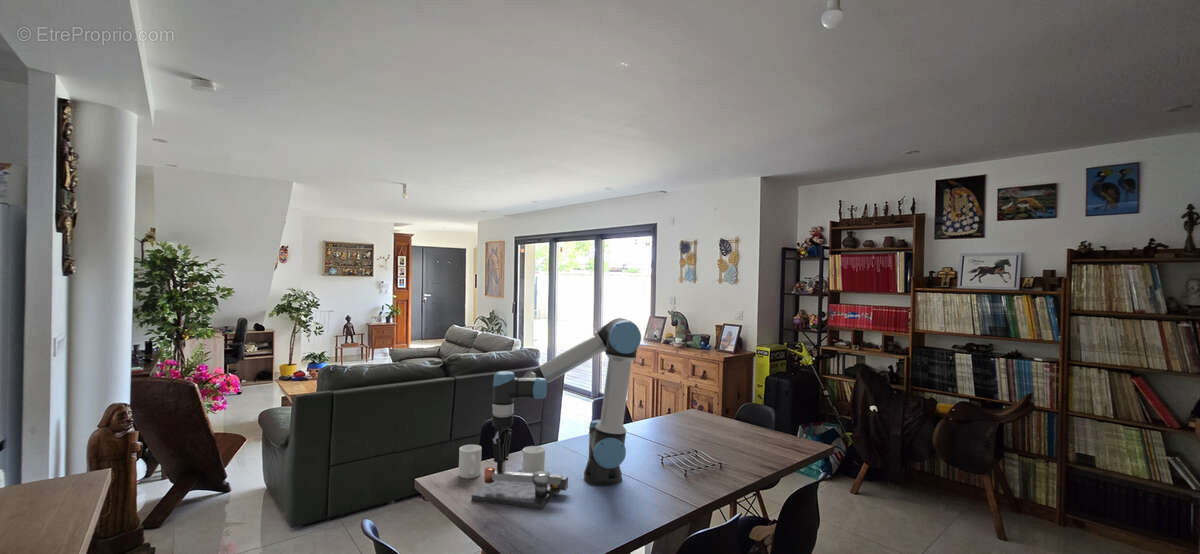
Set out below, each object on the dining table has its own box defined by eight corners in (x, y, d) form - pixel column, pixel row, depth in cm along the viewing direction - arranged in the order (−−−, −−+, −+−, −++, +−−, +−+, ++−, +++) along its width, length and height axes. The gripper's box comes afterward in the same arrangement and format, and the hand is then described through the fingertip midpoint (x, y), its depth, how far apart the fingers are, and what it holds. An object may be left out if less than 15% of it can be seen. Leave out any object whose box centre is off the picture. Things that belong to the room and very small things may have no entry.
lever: (561, 481, 178) (562, 469, 178) (559, 488, 172) (559, 476, 172) (487, 477, 180) (487, 465, 180) (481, 484, 174) (482, 471, 174)
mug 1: (462, 483, 188) (463, 455, 188) (456, 472, 198) (457, 446, 199) (485, 480, 192) (486, 452, 192) (477, 469, 202) (478, 443, 203)
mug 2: (548, 473, 200) (549, 450, 200) (529, 478, 194) (530, 454, 195) (532, 464, 209) (533, 442, 210) (514, 469, 204) (514, 446, 204)
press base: (567, 492, 182) (567, 476, 182) (553, 511, 166) (554, 493, 166) (491, 483, 189) (492, 467, 189) (471, 500, 173) (472, 483, 173)
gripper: (501, 409, 186) (499, 471, 186) (485, 418, 174) (483, 484, 174) (519, 411, 184) (517, 473, 184) (504, 420, 172) (502, 487, 172)
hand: (500, 479), depth 179 cm, fingers closed
